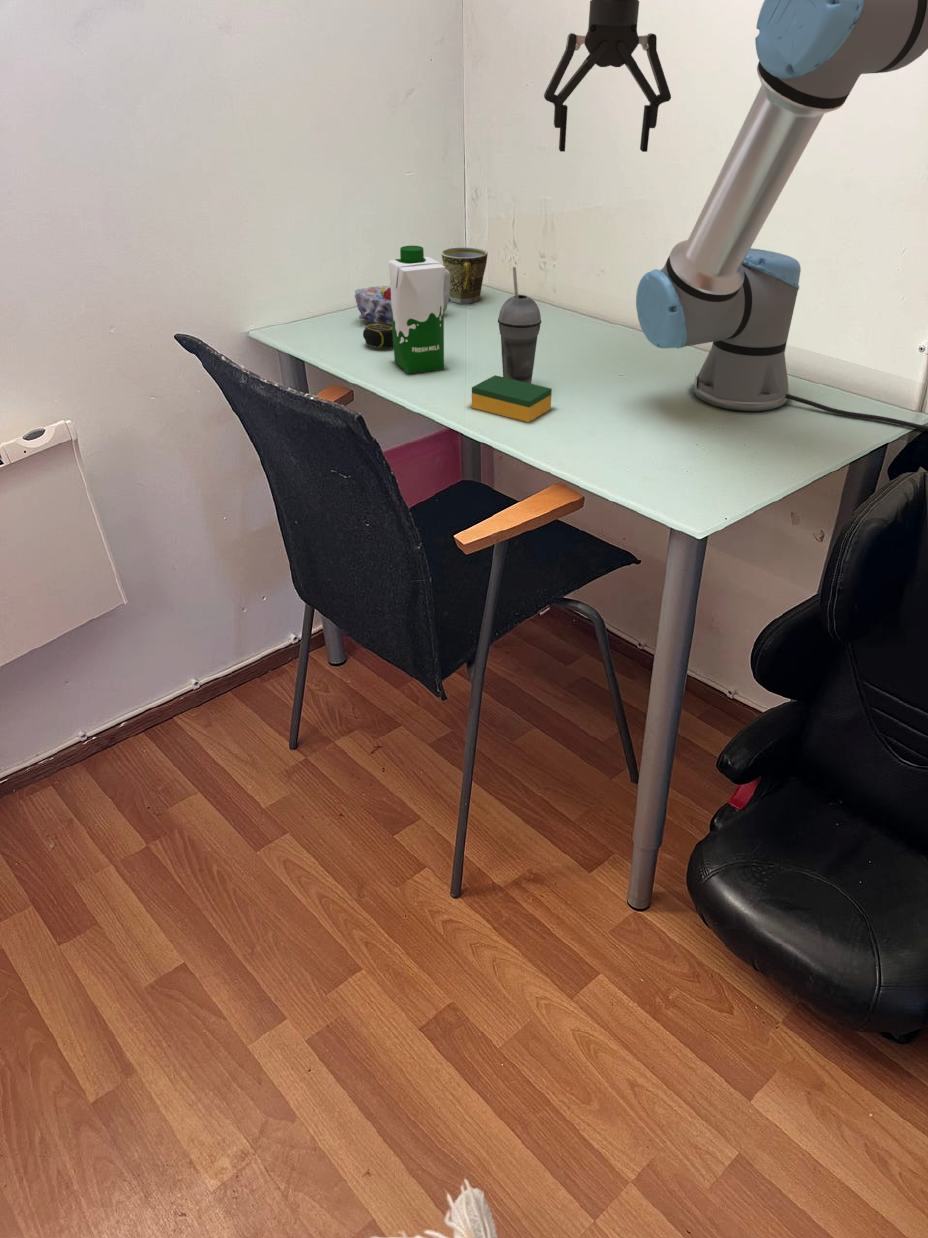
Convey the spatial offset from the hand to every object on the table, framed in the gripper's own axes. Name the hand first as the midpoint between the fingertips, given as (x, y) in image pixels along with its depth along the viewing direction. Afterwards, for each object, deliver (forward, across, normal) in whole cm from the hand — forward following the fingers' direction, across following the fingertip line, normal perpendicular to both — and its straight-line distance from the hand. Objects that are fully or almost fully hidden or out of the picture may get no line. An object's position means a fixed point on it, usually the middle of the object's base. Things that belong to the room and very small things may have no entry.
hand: (602, 150), depth 152 cm
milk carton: (+35, +31, +5) cm, 47 cm away
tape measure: (+35, +39, -7) cm, 53 cm away
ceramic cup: (+35, +22, -37) cm, 56 cm away
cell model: (+35, +36, -23) cm, 55 cm away
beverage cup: (+35, +14, +17) cm, 41 cm away
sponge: (+35, +15, +26) cm, 46 cm away
